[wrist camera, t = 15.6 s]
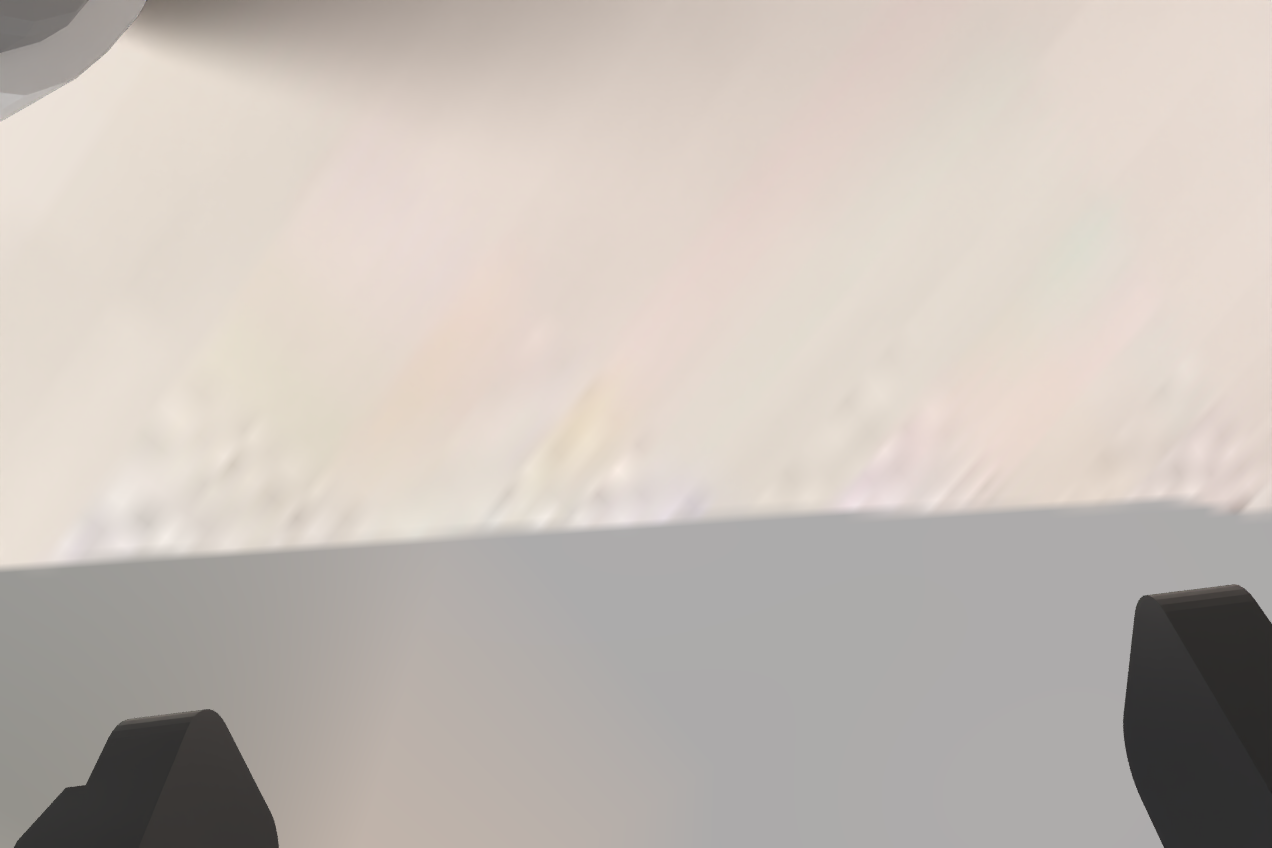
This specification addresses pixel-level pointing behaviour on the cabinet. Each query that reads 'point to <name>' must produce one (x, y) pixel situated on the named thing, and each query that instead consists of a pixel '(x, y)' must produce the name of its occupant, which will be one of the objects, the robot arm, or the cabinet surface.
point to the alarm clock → (54, 44)
